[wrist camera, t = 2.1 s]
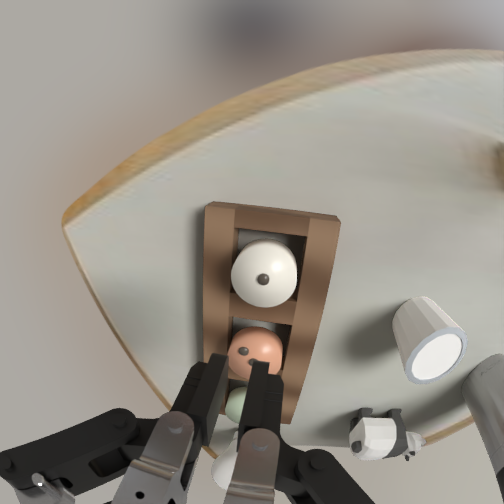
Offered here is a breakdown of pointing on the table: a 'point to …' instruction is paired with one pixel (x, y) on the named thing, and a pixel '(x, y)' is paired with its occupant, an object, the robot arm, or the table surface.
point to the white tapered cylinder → (427, 340)
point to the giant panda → (382, 436)
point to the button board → (289, 312)
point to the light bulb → (225, 464)
